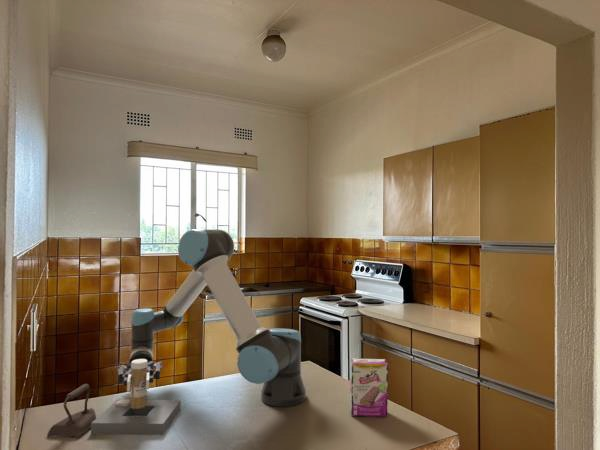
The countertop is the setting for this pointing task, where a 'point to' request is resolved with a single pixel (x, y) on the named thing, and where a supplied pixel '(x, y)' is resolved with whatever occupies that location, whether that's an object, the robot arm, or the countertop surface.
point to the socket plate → (137, 418)
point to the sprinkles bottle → (138, 383)
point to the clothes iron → (75, 418)
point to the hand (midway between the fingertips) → (138, 385)
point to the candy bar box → (369, 387)
